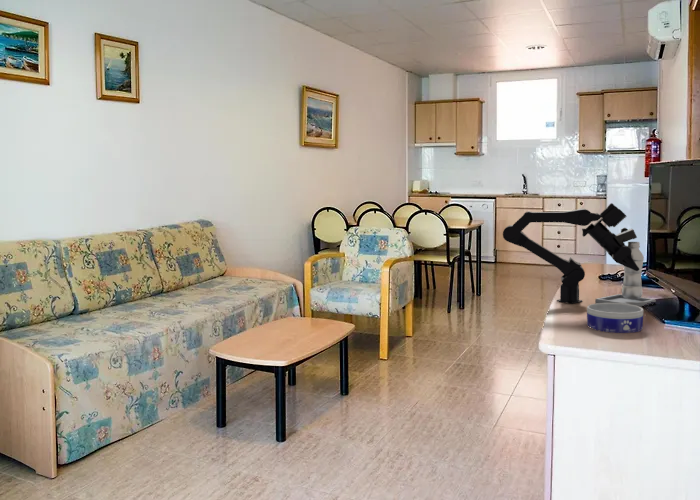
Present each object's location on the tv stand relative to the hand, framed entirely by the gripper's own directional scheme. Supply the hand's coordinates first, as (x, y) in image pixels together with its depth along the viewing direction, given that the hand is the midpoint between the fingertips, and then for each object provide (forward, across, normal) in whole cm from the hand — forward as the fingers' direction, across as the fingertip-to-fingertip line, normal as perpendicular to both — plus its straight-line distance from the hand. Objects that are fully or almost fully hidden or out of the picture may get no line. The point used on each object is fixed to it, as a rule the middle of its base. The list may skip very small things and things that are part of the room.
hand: (637, 269), depth 211 cm
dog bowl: (+2, -37, +17) cm, 41 cm away
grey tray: (+6, 0, +11) cm, 13 cm away
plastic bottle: (+7, 0, +9) cm, 11 cm away
